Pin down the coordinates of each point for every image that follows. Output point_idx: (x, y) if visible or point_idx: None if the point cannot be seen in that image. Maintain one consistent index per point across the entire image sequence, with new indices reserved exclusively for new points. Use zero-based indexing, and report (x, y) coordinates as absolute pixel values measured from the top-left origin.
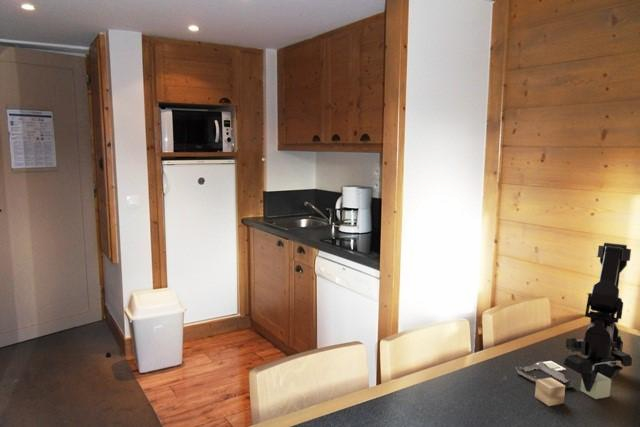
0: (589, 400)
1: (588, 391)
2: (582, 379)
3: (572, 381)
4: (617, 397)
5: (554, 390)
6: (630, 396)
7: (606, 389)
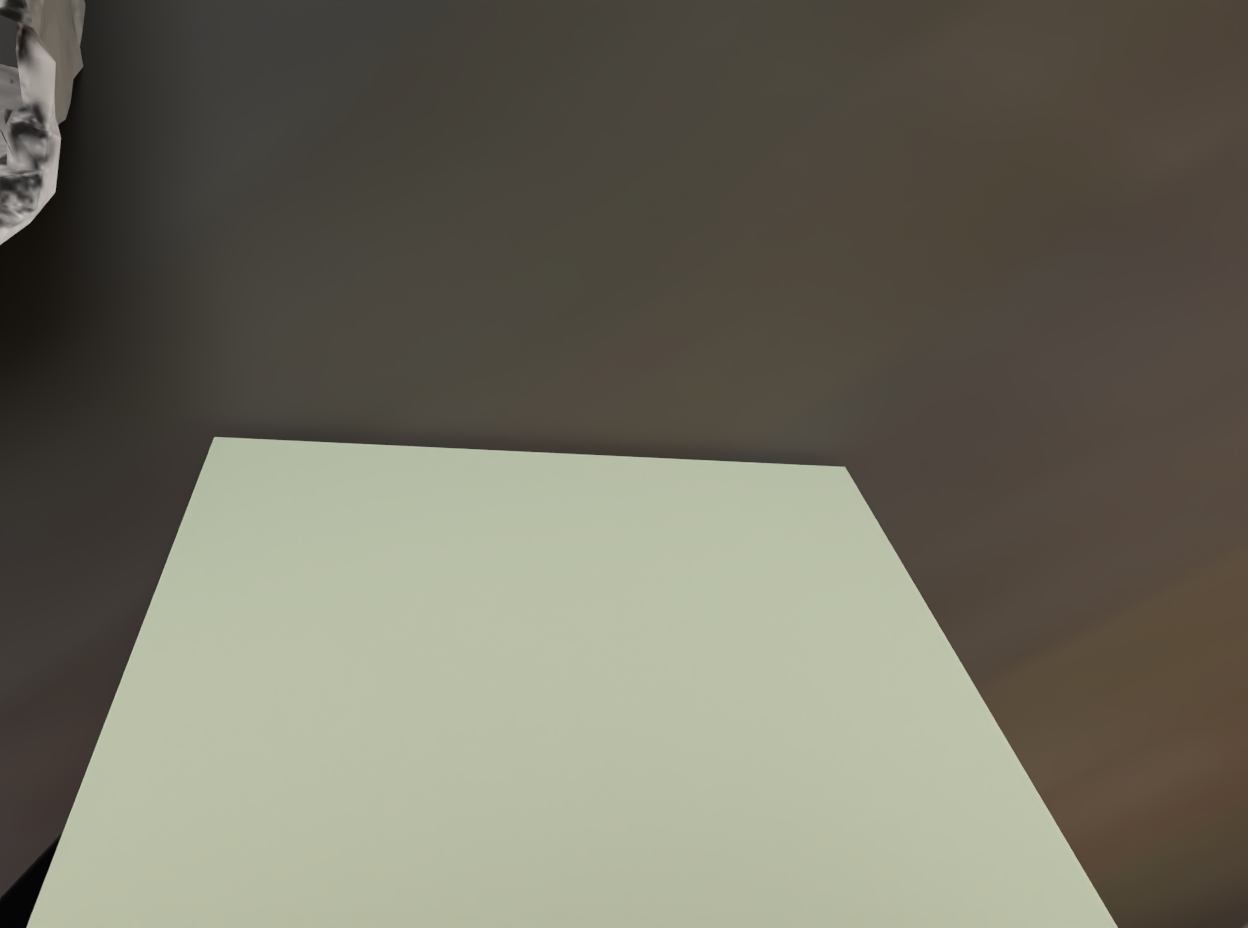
0: (27, 860)
1: None
2: (84, 841)
3: (23, 161)
4: None
5: None
6: (1168, 922)
7: None
